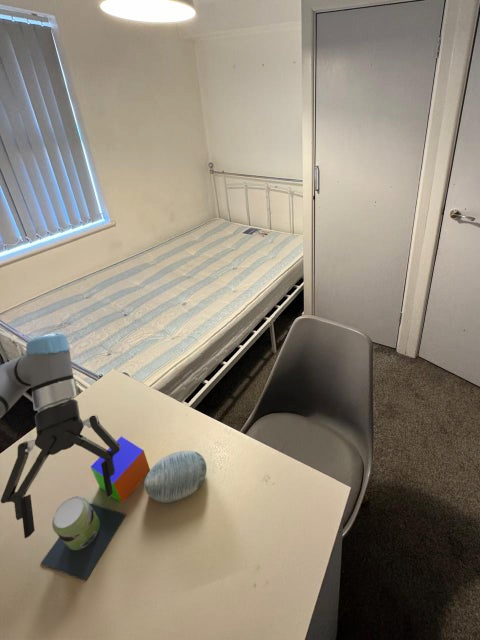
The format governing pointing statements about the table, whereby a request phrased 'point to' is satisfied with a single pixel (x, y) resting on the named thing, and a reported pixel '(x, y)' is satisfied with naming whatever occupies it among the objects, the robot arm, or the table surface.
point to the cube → (124, 469)
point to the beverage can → (76, 523)
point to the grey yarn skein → (175, 476)
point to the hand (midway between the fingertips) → (71, 514)
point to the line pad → (86, 558)
